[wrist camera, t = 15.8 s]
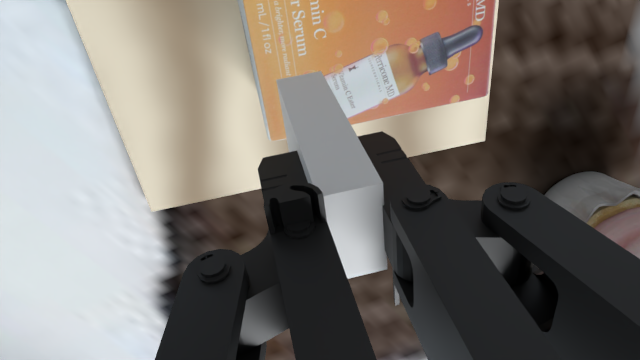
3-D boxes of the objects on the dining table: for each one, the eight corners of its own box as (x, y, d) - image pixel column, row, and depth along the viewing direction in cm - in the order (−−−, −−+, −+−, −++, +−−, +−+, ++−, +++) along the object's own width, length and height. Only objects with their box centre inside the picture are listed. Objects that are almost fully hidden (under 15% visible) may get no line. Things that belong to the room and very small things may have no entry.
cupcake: (615, 126, 34) (742, 216, 26) (638, 206, 40) (750, 302, 32) (495, 199, 36) (581, 305, 28) (533, 267, 41) (614, 372, 33)
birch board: (152, 203, 30) (151, 211, 30) (-14, -214, 19) (-22, -215, 18) (479, 134, 32) (485, 140, 32) (516, -281, 21) (526, -284, 20)
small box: (226, -43, 18) (507, -95, 19) (220, -69, 22) (447, -110, 23) (270, 147, 22) (492, 98, 23) (257, 94, 27) (444, 55, 28)
